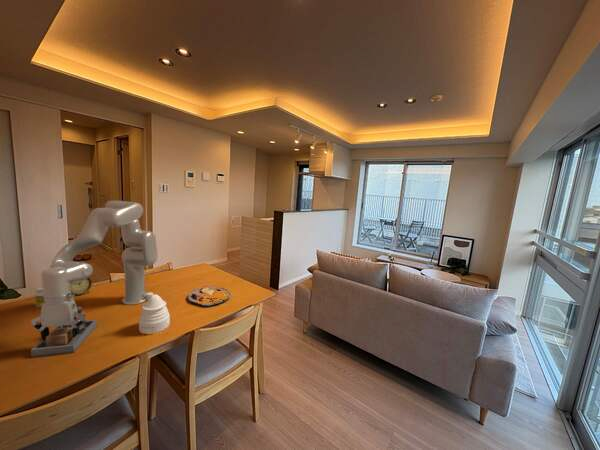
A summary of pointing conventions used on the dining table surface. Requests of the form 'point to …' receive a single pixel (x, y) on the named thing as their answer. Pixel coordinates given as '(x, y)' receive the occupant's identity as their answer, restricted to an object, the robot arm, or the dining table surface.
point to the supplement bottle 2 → (82, 326)
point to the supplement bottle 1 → (39, 297)
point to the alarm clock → (80, 286)
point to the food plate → (205, 290)
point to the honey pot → (154, 315)
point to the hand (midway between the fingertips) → (61, 336)
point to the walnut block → (60, 337)
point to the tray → (45, 351)
